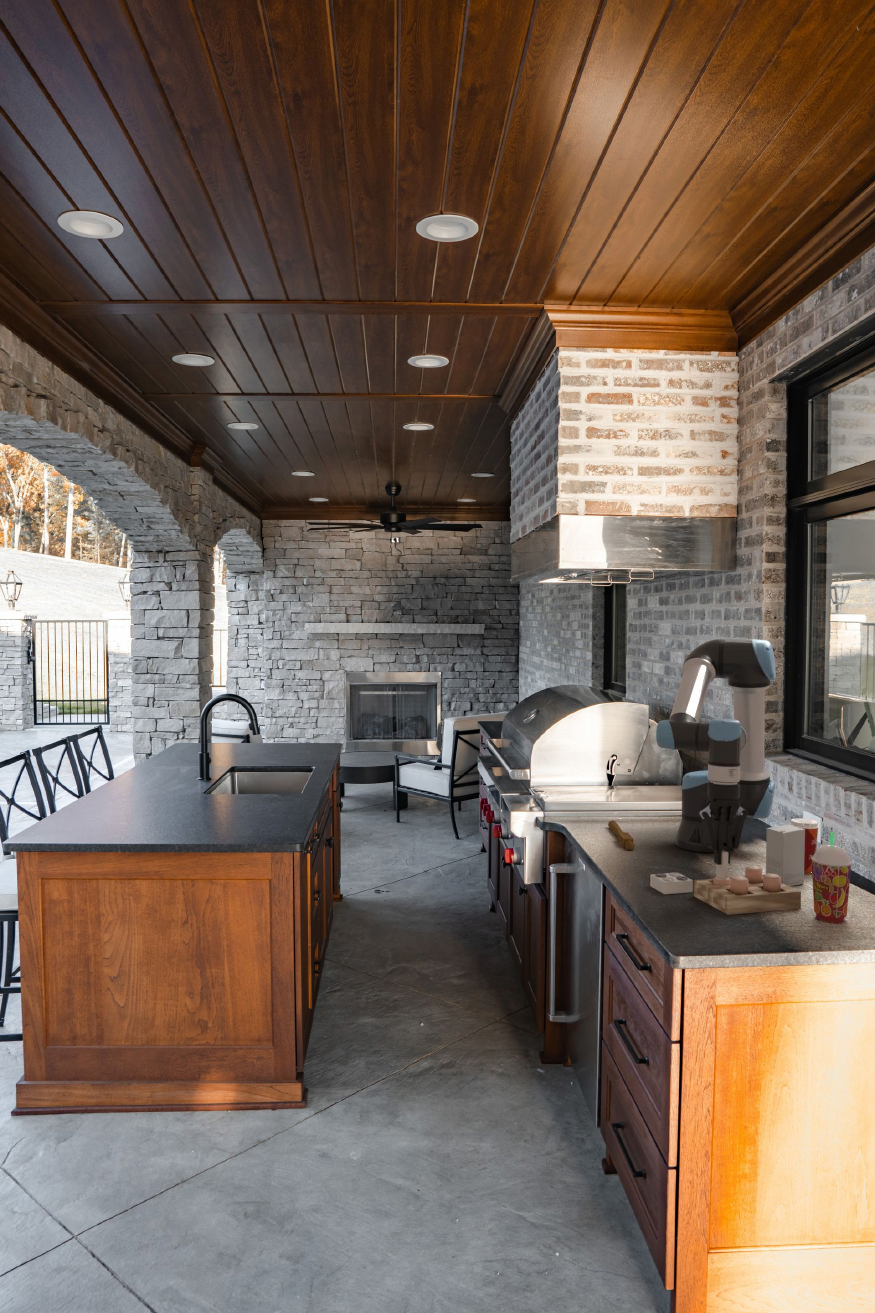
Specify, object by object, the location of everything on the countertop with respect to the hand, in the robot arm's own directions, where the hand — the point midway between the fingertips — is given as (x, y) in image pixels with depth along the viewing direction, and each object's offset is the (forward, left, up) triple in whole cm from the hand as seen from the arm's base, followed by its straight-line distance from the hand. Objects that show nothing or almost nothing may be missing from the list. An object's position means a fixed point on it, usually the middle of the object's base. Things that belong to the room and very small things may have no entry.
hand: (722, 877), depth 202 cm
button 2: (+7, 0, -2) cm, 7 cm away
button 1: (0, 0, -4) cm, 4 cm away
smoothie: (+18, +16, -6) cm, 25 cm away
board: (+3, +5, -6) cm, 8 cm away
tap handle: (-61, +4, -6) cm, 61 cm away
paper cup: (-17, +37, -6) cm, 41 cm away
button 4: (+7, +9, -2) cm, 12 cm away
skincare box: (-8, +24, -6) cm, 26 cm away
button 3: (0, +9, -2) cm, 9 cm away
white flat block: (-10, -8, -6) cm, 14 cm away
